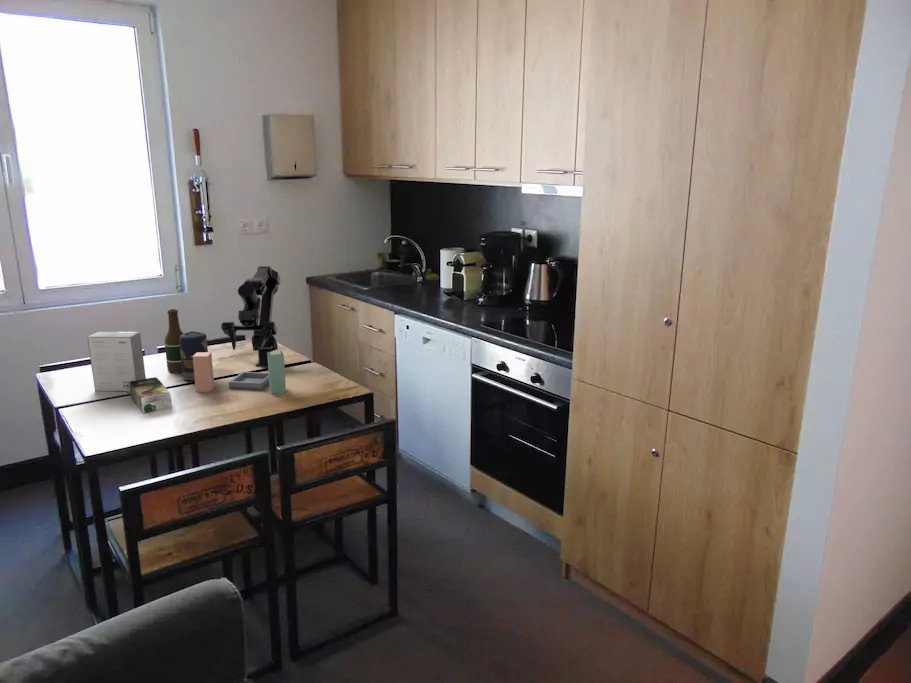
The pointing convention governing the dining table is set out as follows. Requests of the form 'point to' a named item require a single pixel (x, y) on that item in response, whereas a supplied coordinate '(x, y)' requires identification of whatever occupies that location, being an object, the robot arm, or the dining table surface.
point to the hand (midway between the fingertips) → (246, 349)
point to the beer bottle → (173, 343)
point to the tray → (250, 381)
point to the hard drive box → (116, 360)
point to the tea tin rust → (203, 371)
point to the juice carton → (150, 394)
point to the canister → (191, 351)
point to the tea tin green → (276, 372)
